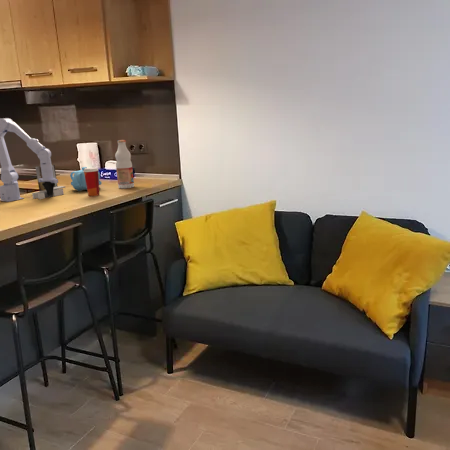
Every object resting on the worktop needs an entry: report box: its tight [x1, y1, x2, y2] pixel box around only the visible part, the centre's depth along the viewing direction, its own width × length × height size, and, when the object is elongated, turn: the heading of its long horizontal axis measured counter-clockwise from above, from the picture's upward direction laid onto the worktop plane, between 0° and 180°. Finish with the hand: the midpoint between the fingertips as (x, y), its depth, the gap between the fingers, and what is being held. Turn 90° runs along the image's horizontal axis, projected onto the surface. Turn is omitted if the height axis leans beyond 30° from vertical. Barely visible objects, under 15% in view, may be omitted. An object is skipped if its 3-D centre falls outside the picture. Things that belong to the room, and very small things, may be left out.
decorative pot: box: [69, 166, 103, 192], centre depth 277 cm, size 16×16×14 cm
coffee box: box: [35, 164, 59, 192], centre depth 274 cm, size 9×6×16 cm
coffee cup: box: [83, 167, 100, 197], centre depth 256 cm, size 8×8×15 cm
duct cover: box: [53, 185, 66, 190], centre depth 265 cm, size 9×5×3 cm, turn 146°
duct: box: [31, 188, 65, 200], centre depth 261 cm, size 16×6×3 cm, turn 146°
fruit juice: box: [114, 139, 135, 189], centre depth 276 cm, size 9×9×28 cm
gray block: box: [44, 192, 54, 199], centre depth 260 cm, size 4×4×2 cm
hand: (50, 195), depth 258 cm, fingers closed
